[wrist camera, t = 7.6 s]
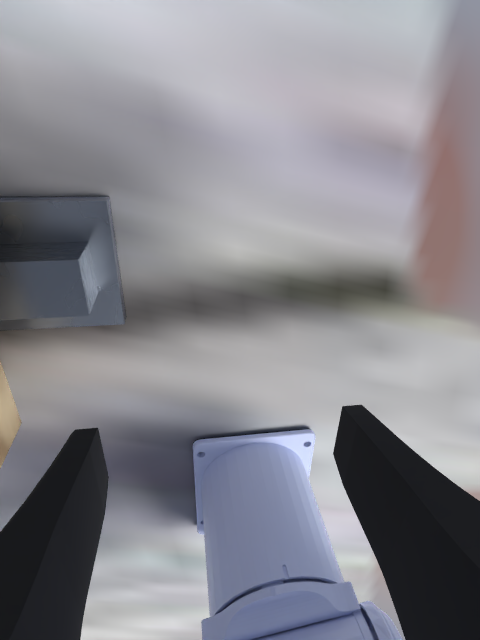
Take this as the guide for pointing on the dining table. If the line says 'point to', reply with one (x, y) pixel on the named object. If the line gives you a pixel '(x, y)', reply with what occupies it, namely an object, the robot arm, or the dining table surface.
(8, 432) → the bar
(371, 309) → the dining table surface
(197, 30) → the dining table surface
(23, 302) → the ridge
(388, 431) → the robot arm
